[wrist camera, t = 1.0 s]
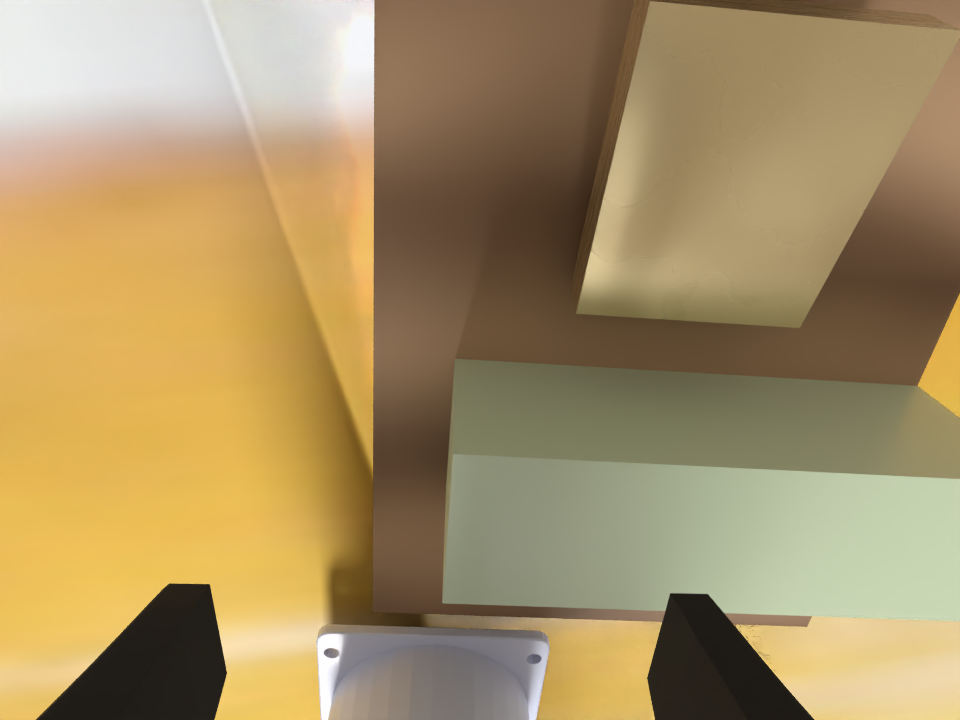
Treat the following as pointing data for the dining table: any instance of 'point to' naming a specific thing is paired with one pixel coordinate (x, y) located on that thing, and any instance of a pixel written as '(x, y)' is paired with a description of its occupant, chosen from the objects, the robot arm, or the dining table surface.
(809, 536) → the light green rectangular bar
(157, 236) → the dining table surface
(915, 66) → the tan flat block
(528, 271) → the panel
